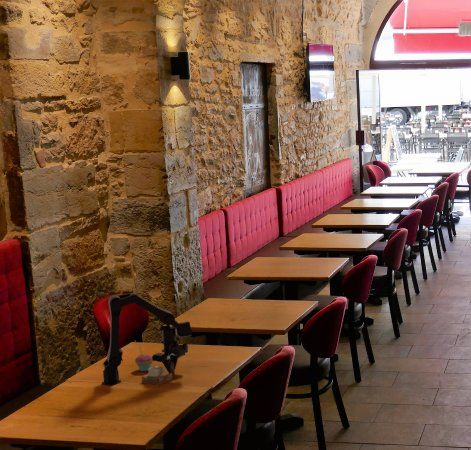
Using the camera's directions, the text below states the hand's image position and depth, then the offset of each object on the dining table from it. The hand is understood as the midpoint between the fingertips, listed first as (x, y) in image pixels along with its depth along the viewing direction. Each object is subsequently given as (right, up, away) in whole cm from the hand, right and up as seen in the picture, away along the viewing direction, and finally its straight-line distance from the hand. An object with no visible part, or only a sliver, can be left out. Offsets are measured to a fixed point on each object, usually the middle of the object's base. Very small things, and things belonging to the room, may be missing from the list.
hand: (171, 371), depth 400 cm
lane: (-6, -3, -7) cm, 10 cm away
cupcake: (-13, -1, +11) cm, 17 cm away
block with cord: (-3, -2, -4) cm, 6 cm away
